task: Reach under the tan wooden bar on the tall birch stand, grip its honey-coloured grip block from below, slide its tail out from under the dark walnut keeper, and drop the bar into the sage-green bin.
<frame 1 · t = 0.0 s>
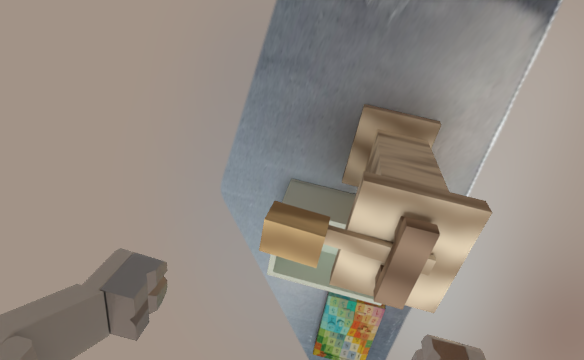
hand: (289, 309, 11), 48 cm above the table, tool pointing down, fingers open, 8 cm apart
stand: (387, 152, 58), on the table
puzzle game: (347, 318, 79), on the table
bin: (337, 224, 67), on the table
tan wooden bar: (298, 223, 37), point 26 cm above the table, touching stand
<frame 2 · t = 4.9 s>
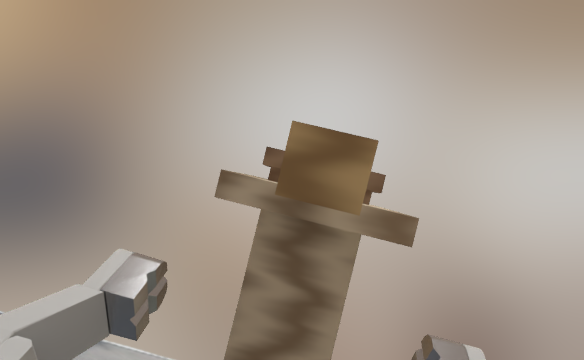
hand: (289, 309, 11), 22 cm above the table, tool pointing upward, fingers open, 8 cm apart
tan wooden bar: (317, 199, 19), point 26 cm above the table, touching stand
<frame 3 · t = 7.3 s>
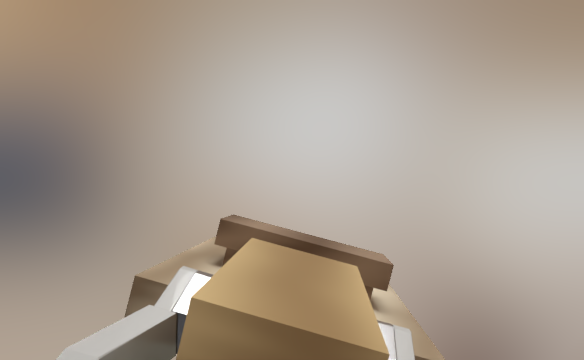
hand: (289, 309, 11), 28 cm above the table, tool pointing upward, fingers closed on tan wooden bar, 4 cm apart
when the fingers open (19 cm above the table, at t = 16.7 s): tan wooden bar drops 16 cm, resting on bin.
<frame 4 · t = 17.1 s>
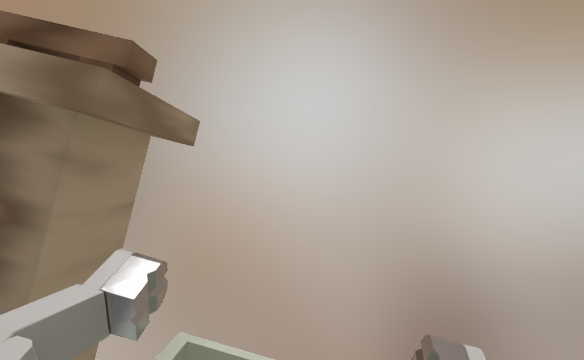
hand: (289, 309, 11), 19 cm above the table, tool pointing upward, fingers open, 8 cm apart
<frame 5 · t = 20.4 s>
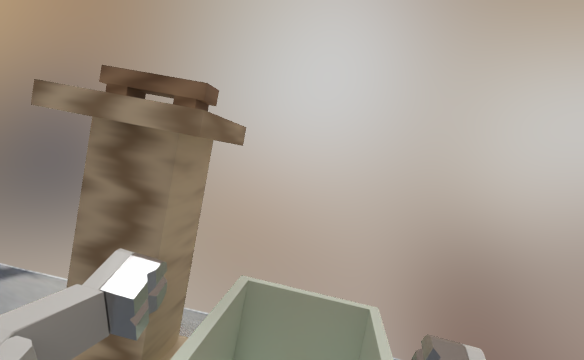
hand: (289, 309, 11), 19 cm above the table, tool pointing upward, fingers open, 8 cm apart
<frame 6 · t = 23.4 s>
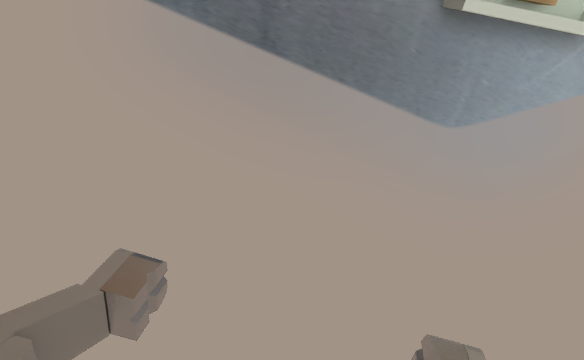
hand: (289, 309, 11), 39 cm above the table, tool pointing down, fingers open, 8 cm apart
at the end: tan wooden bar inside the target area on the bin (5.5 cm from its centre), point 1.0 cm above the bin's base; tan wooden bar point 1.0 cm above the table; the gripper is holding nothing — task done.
